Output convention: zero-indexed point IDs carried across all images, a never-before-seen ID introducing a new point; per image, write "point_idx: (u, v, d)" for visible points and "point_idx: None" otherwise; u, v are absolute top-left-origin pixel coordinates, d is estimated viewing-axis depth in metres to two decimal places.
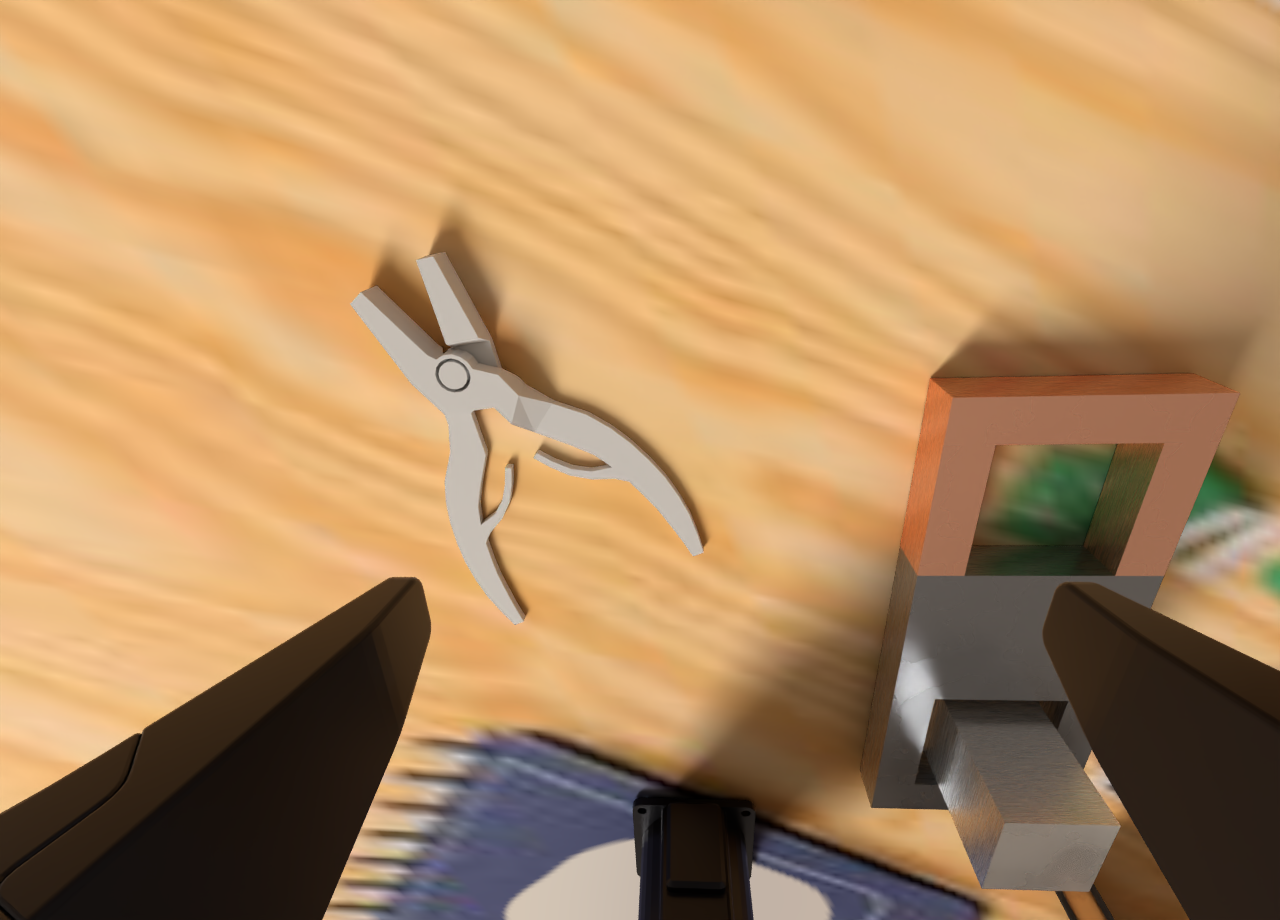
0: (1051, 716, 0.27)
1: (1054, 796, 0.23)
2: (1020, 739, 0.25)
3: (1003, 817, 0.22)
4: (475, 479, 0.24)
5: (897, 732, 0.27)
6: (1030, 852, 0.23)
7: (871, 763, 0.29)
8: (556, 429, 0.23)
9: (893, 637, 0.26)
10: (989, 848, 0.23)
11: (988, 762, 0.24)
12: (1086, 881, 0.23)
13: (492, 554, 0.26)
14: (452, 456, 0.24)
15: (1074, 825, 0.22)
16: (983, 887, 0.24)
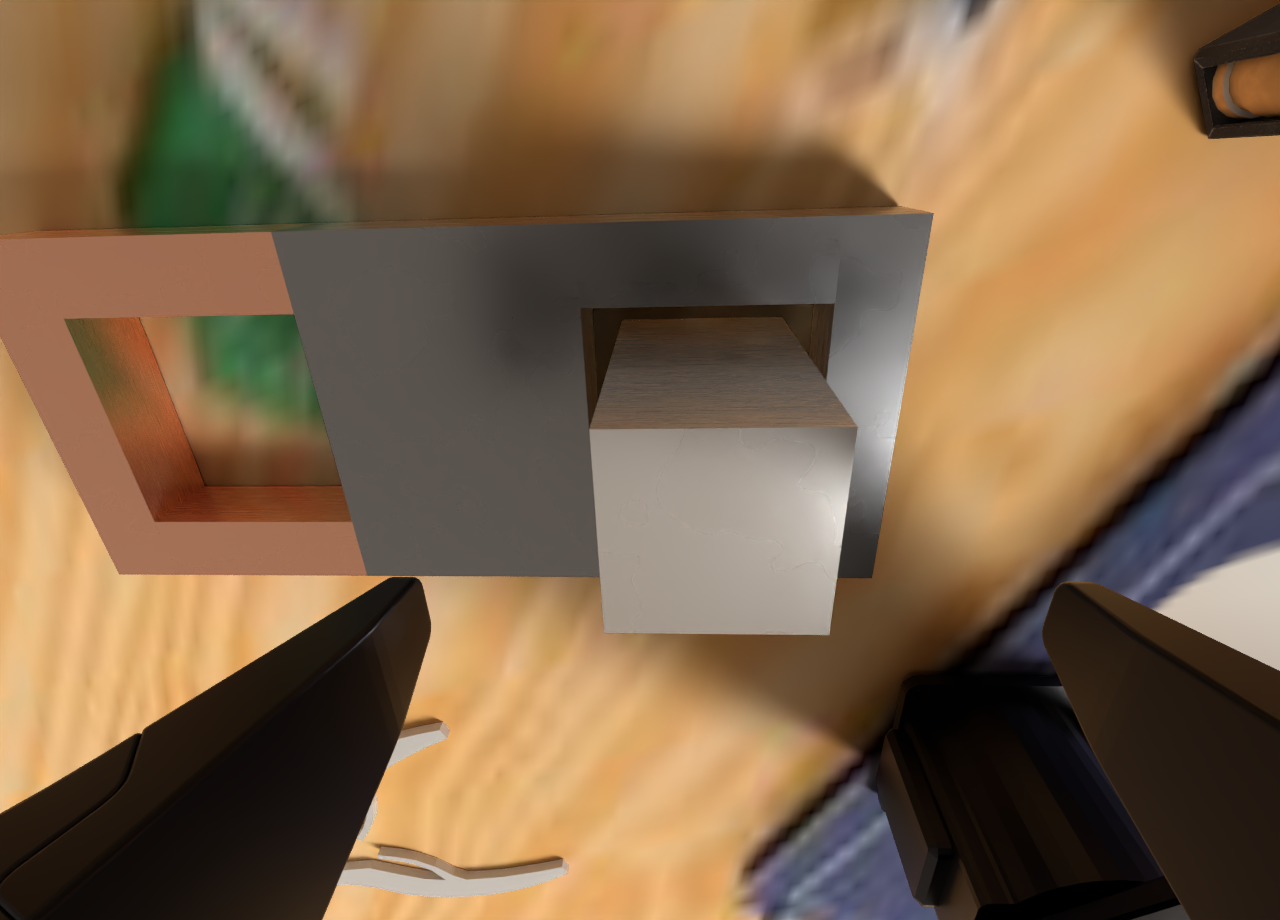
0: None
1: None
2: None
3: (605, 623, 0.11)
4: (396, 877, 0.26)
5: None
6: (700, 574, 0.10)
7: None
8: None
9: None
10: (712, 622, 0.11)
11: None
12: (810, 444, 0.09)
13: (484, 873, 0.26)
14: (377, 886, 0.27)
15: (599, 518, 0.10)
16: (826, 632, 0.11)
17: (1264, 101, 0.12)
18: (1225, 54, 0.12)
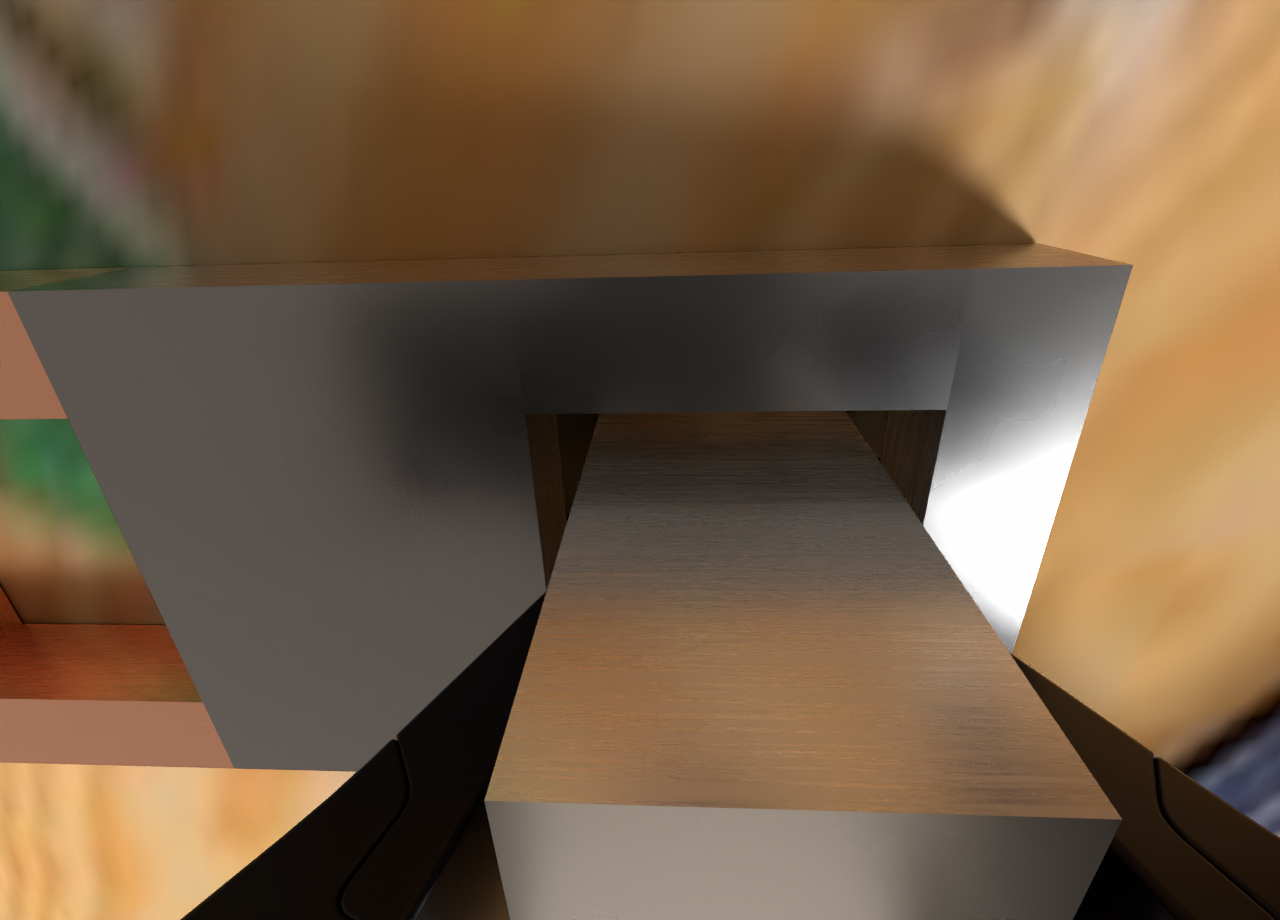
0: None
1: None
2: None
3: None
4: None
5: None
6: None
7: None
8: None
9: None
10: None
11: None
12: (999, 843, 0.04)
13: None
14: None
15: None
16: None
17: None
18: None
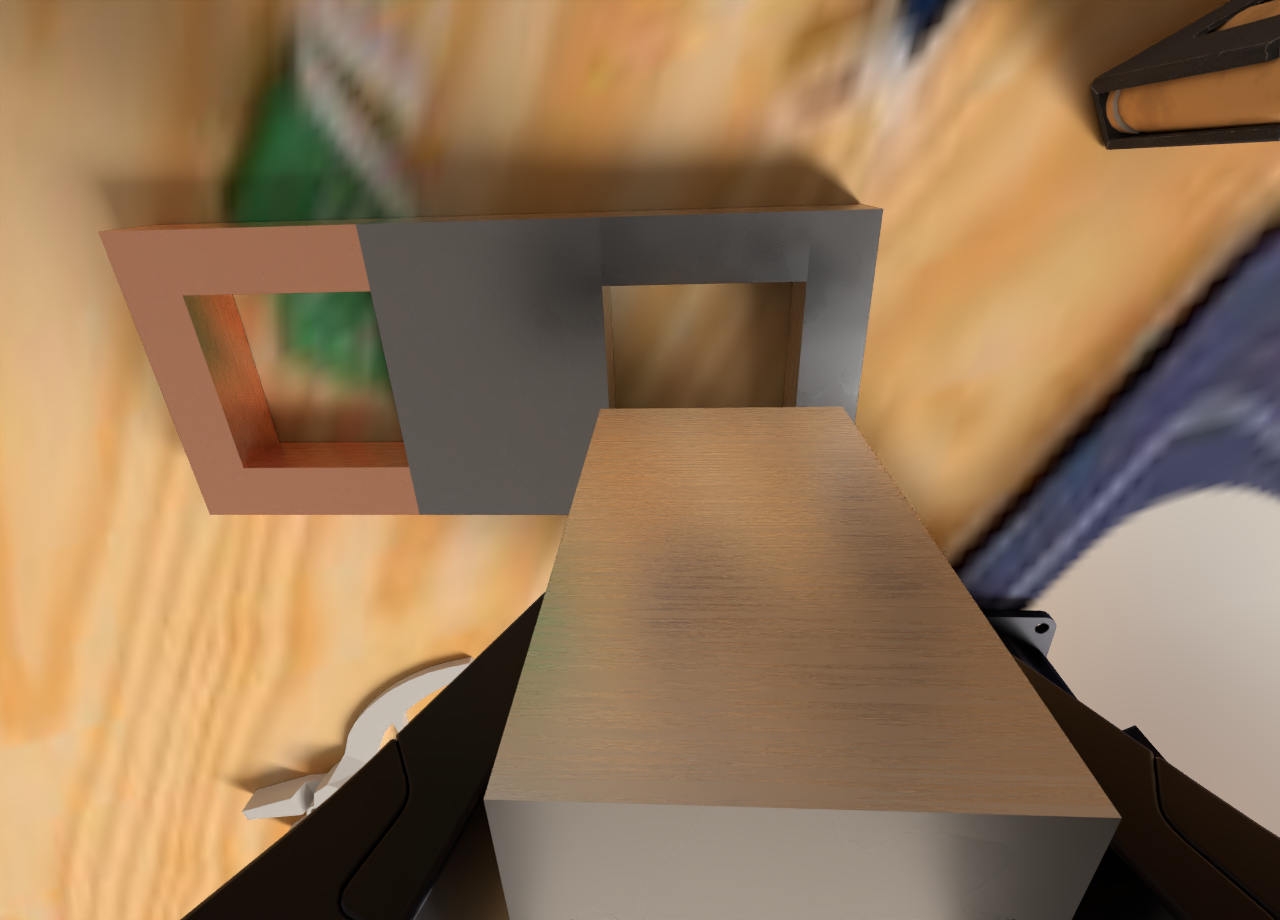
0: None
1: None
2: None
3: None
4: None
5: None
6: None
7: None
8: (366, 753, 0.28)
9: None
10: None
11: None
12: (998, 840, 0.04)
13: None
14: None
15: None
16: None
17: (1140, 121, 0.15)
18: (1111, 84, 0.15)
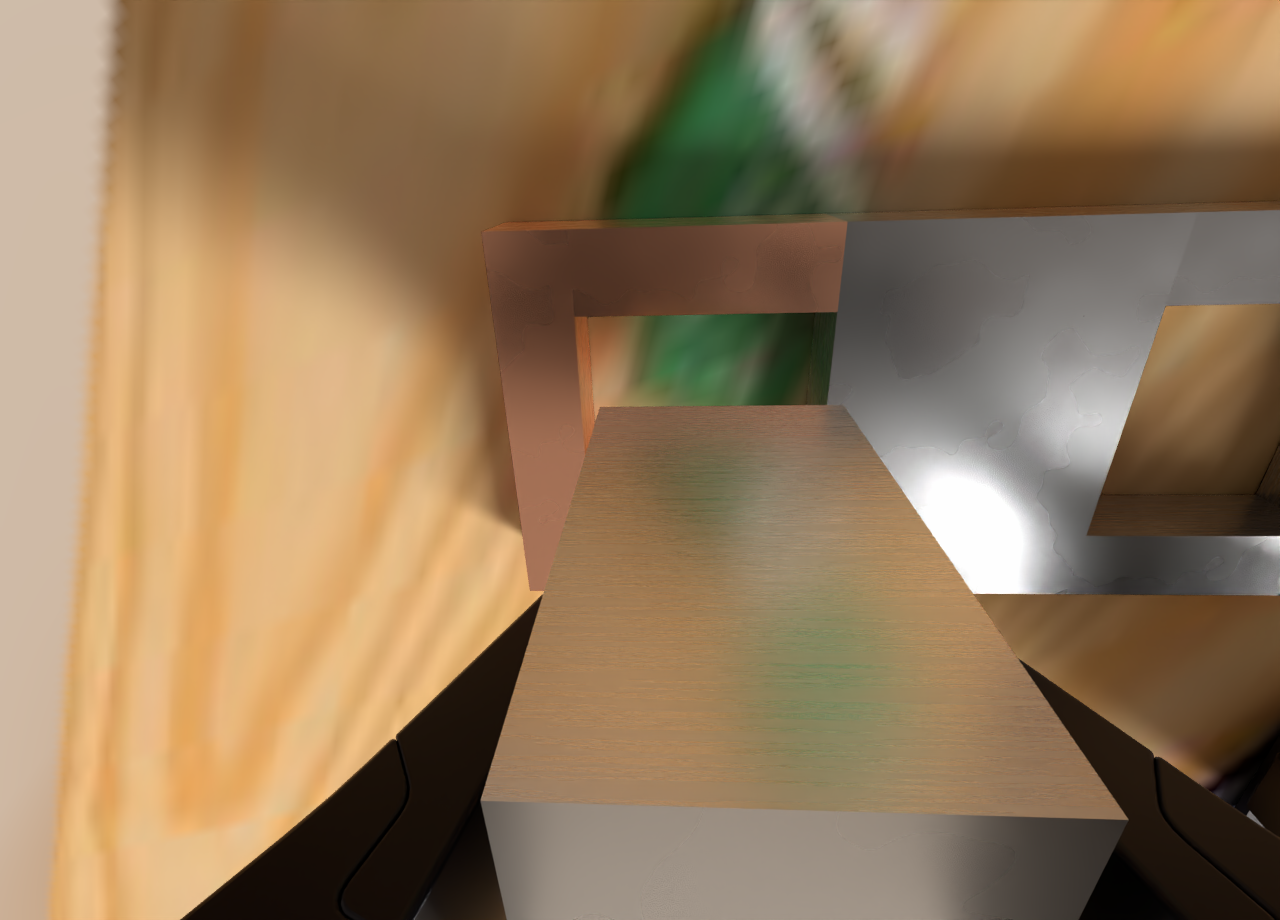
0: None
1: None
2: None
3: None
4: None
5: (1156, 579, 0.15)
6: None
7: None
8: None
9: None
10: None
11: None
12: (1003, 844, 0.04)
13: None
14: None
15: None
16: None
17: None
18: None
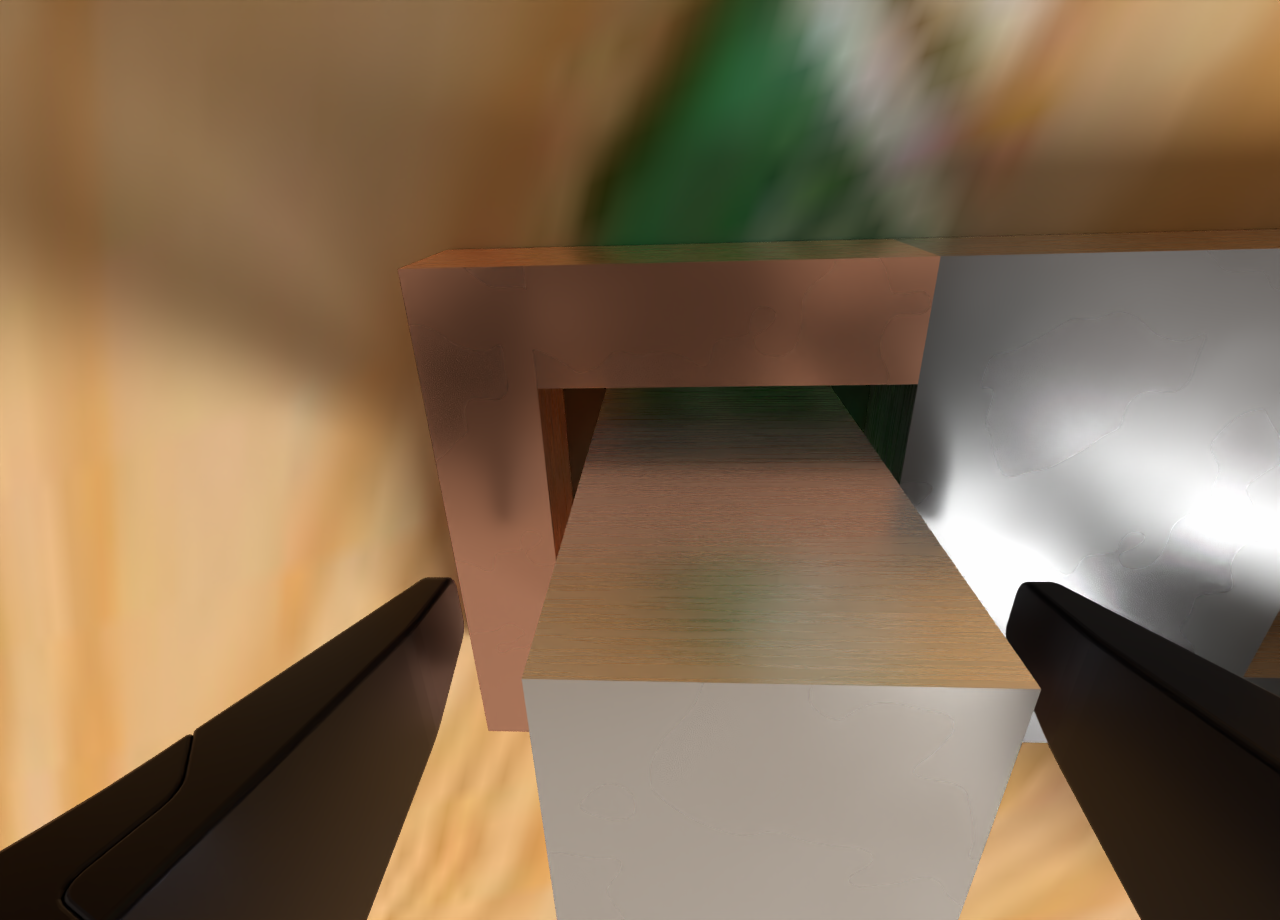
0: None
1: None
2: None
3: None
4: None
5: None
6: (725, 888, 0.06)
7: None
8: None
9: None
10: None
11: None
12: (944, 713, 0.05)
13: None
14: None
15: (547, 807, 0.06)
16: None
17: None
18: None
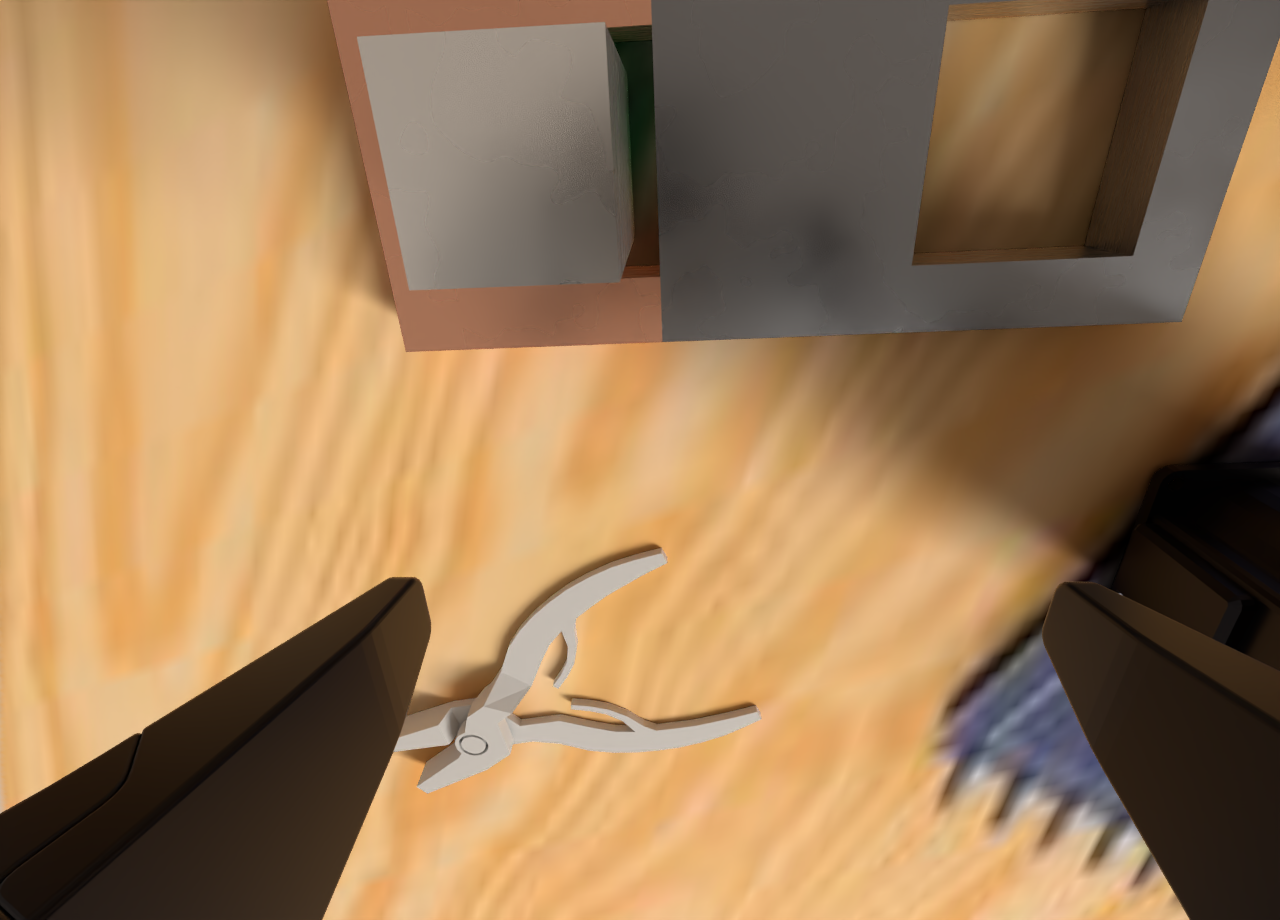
0: (1009, 6, 0.14)
1: None
2: None
3: (412, 286, 0.12)
4: (585, 730, 0.26)
5: (983, 311, 0.16)
6: (487, 212, 0.11)
7: None
8: (526, 670, 0.25)
9: None
10: (514, 283, 0.12)
11: None
12: (564, 45, 0.10)
13: (673, 724, 0.26)
14: (563, 742, 0.27)
15: (383, 146, 0.11)
16: (616, 279, 0.11)
17: None
18: None
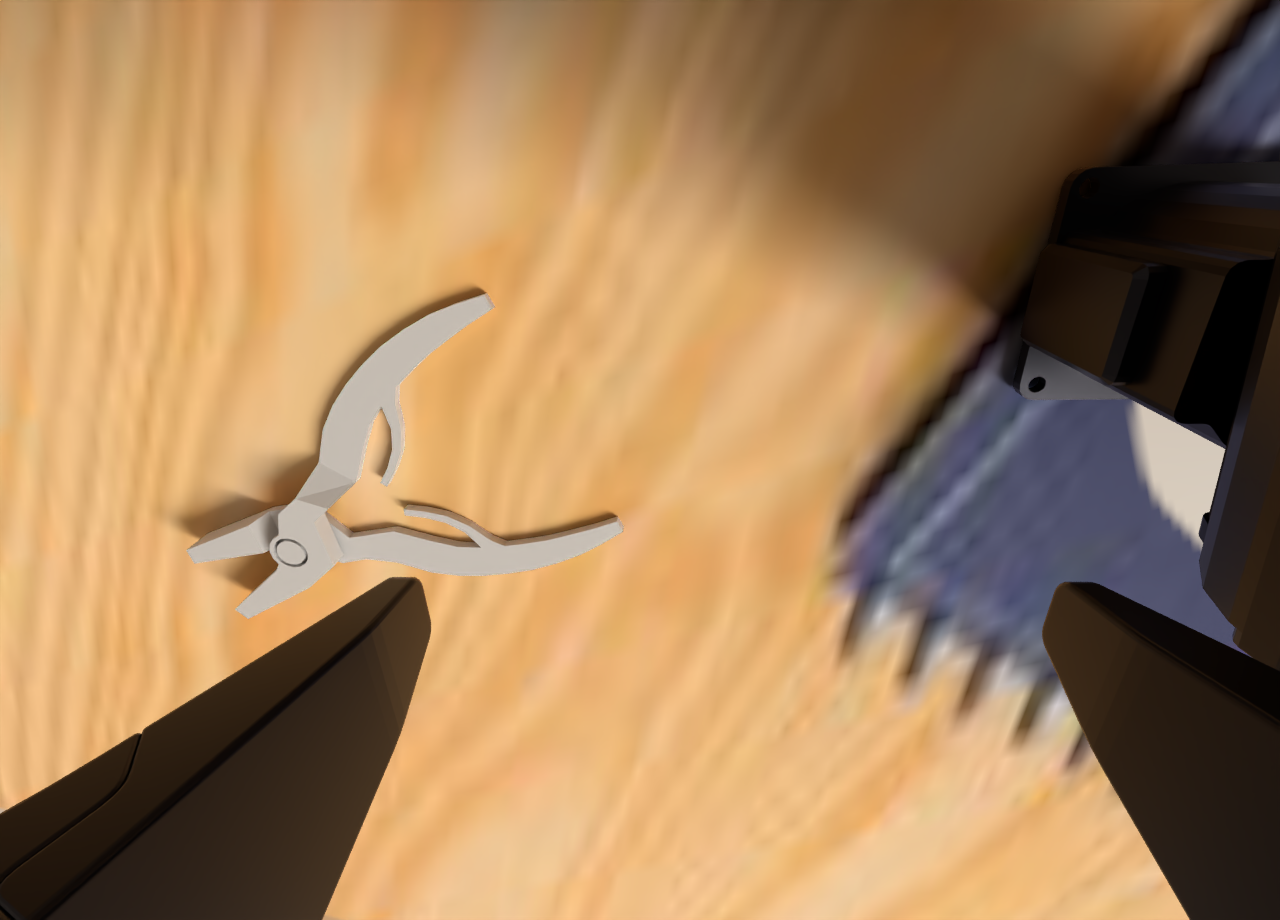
0: None
1: None
2: None
3: None
4: (424, 544, 0.23)
5: None
6: None
7: None
8: (347, 460, 0.21)
9: None
10: None
11: None
12: None
13: (525, 540, 0.23)
14: (401, 561, 0.23)
15: None
16: None
17: None
18: None
